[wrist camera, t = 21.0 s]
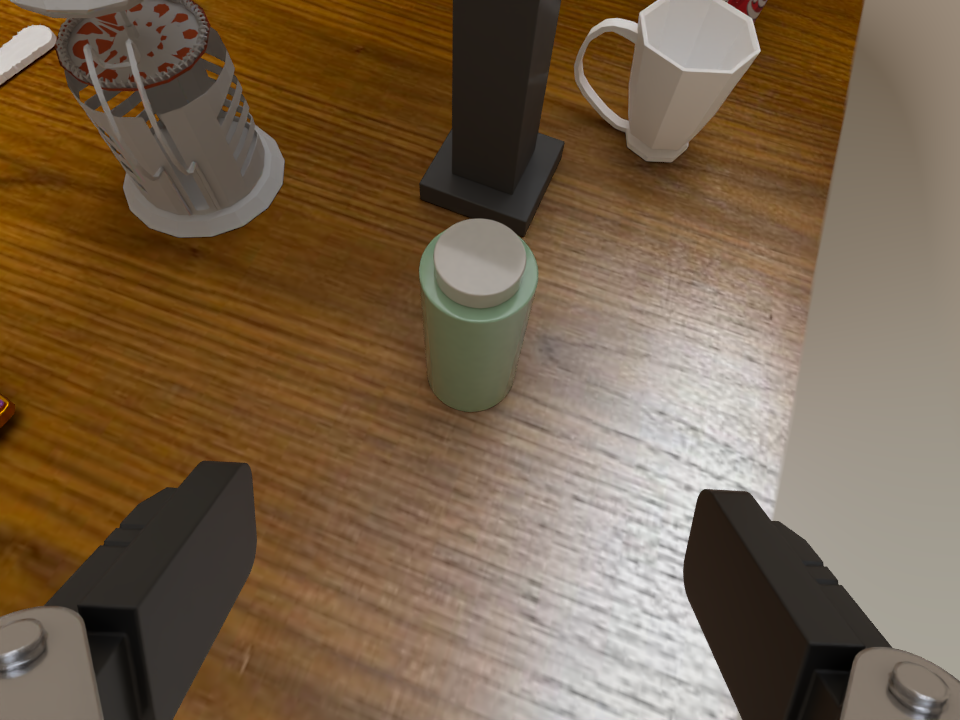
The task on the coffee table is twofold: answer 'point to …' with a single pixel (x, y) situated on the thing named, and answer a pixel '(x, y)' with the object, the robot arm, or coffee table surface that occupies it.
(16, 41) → the spoon
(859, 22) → the coffee table surface
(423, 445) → the coffee table surface
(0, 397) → the toy car
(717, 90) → the cup
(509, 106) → the pedestal
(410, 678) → the coffee table surface
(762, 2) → the soda can
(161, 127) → the french press
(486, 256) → the water bottle
